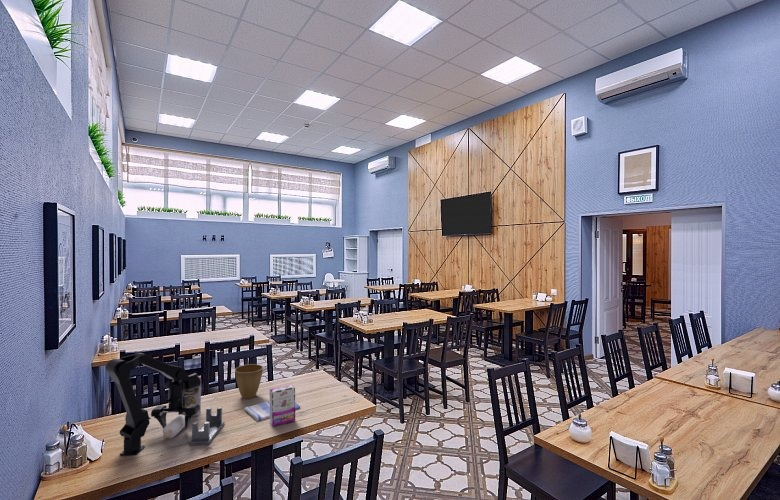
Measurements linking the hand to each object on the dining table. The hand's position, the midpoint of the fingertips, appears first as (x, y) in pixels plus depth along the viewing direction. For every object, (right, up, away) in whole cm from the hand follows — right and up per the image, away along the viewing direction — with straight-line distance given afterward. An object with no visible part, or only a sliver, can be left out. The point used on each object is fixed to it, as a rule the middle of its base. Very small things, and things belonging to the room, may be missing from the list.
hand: (175, 429), depth 167 cm
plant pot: (+17, -2, +42) cm, 45 cm away
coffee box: (-4, -2, +19) cm, 19 cm away
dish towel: (+36, -3, +25) cm, 44 cm away
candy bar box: (+45, -2, +10) cm, 46 cm away
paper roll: (0, +1, 0) cm, 1 cm away
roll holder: (+15, -2, -2) cm, 15 cm away
